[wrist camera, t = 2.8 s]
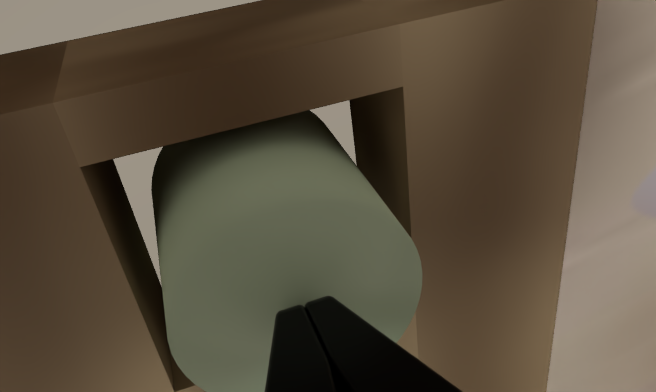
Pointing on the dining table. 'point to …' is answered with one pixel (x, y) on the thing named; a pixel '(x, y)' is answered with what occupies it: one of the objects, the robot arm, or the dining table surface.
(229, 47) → the brown button tray
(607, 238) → the dining table surface
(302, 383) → the robot arm
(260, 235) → the button sage
